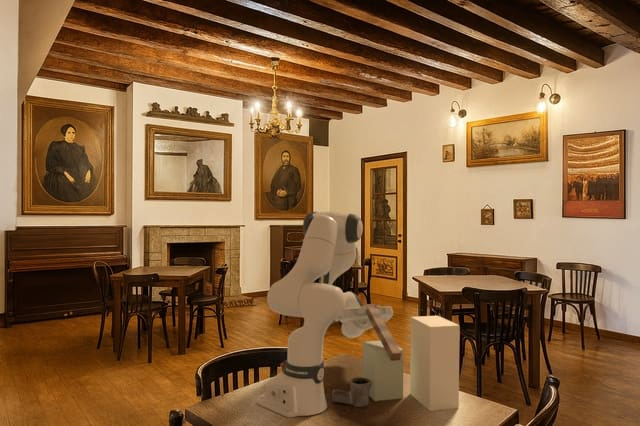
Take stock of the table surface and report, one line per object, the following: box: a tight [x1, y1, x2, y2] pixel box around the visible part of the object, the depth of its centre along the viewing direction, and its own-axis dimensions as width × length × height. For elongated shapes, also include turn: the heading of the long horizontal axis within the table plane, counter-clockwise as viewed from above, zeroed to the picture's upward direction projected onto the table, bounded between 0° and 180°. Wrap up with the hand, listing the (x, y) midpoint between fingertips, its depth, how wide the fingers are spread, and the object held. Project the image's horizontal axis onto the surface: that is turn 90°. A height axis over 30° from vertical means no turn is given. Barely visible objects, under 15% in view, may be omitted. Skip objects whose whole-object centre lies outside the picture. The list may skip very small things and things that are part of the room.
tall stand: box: [409, 315, 461, 412], centre depth 150 cm, size 14×10×26 cm
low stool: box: [361, 340, 404, 402], centre depth 157 cm, size 12×10×16 cm
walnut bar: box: [365, 303, 401, 361], centre depth 158 cm, size 26×3×3 cm, turn 15°
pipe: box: [331, 376, 373, 408], centre depth 147 cm, size 6×13×8 cm, turn 81°
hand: (372, 307), depth 167 cm, fingers closed on walnut bar, 3 cm apart
